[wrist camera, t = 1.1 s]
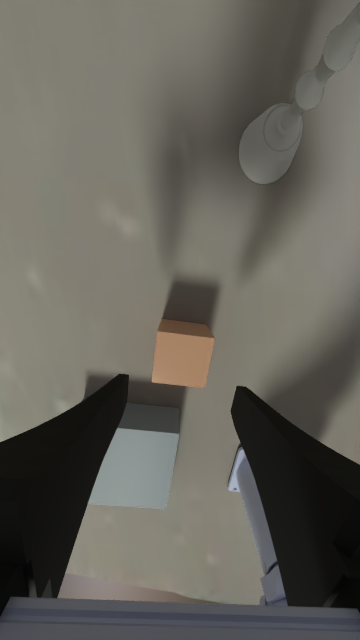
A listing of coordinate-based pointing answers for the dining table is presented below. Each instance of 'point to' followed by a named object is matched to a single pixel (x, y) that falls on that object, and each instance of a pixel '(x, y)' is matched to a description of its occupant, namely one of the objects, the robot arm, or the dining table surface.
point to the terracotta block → (182, 353)
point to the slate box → (139, 459)
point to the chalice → (295, 109)
